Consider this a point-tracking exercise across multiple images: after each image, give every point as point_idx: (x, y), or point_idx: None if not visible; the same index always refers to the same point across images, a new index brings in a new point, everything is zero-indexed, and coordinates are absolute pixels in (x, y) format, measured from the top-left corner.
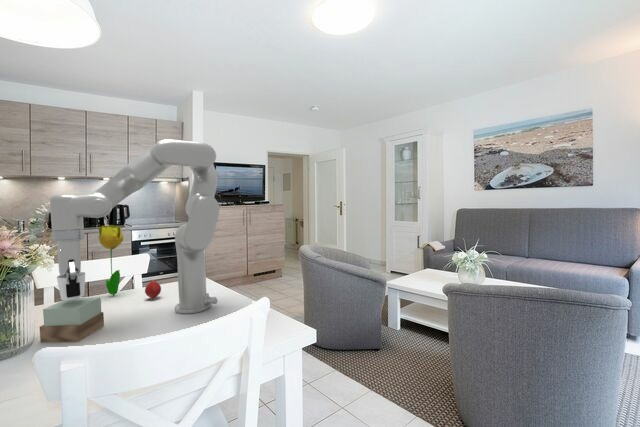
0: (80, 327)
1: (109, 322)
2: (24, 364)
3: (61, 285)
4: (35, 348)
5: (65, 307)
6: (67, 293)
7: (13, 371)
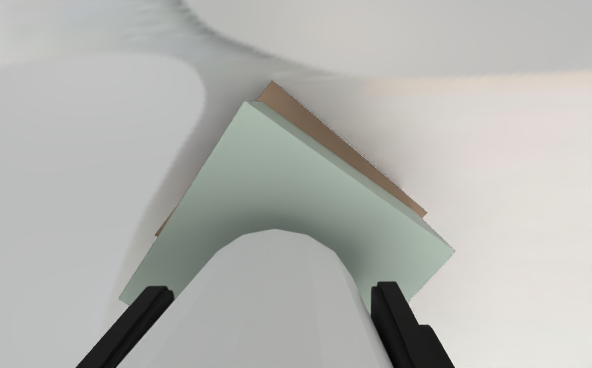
0: None
1: None
2: (68, 46)
3: (149, 335)
4: (216, 71)
5: (188, 232)
6: (128, 314)
7: (22, 16)
